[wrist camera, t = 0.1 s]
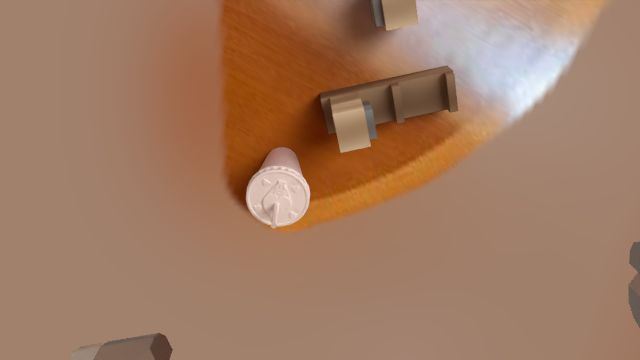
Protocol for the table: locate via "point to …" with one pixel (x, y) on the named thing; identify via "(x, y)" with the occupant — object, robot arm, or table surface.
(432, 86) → the rail
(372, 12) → the grey-banded wooden block
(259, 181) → the smoothie
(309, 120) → the table surface
